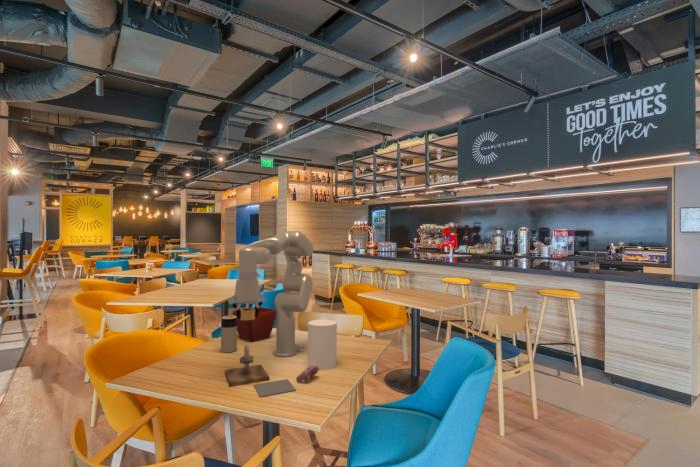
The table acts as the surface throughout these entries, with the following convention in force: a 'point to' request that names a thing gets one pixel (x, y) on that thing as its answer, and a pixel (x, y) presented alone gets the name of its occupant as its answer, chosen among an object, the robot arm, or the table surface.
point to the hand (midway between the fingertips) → (247, 317)
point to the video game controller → (307, 373)
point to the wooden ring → (247, 314)
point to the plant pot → (256, 325)
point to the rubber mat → (274, 388)
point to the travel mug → (229, 334)
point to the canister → (322, 343)
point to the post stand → (246, 372)
